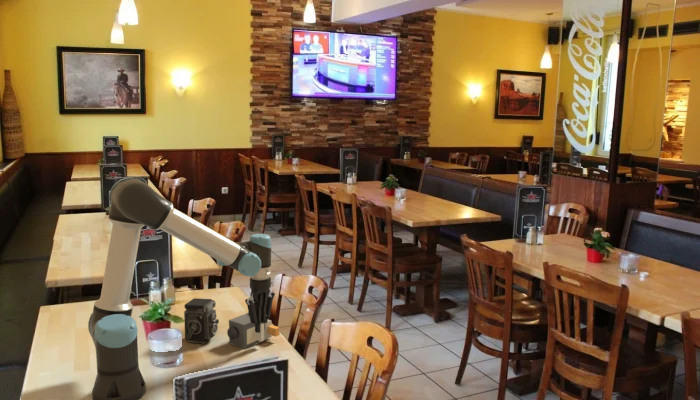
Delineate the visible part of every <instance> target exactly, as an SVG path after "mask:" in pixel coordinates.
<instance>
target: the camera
mask: <svg viewBox="0 0 700 400" xmlns="http://www.w3.org/2000/svg"><path fill="white" fill-rule="evenodd" d="M183 307H184V309H185V310H184V312H183V316H184V317H183V319H184V322H183V323H184V340H185V341H186V342H188V343H195V344H197V343H198V344H206V343H207V342H208V341H210V340H211V339H212V338H214V337H215V336H216V335H217V333H218V329H219V327H218V326H219V325H218V324H219V322H220V320H219V319H217V314H216V312H217V310H216V309H214V308H216V301H215V300H214V299H212V298H194V297H193V298H192V299H191V300H190V301H187V303H185V304H184V306H183Z"/></svg>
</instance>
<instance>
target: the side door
mask: <svg viewBox="0 0 700 400" xmlns="http://www.w3.org/2000/svg"><path fill="white" fill-rule="evenodd" d="M278 336H280V326H276V325H273V324H272V320H271V319H268V322H267V323H265V330H264V341H266V340H268V339H269V338H271V337H278ZM265 339H266V340H265ZM258 342H259V343H261V342H262V341H258Z"/></svg>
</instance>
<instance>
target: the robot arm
mask: <svg viewBox="0 0 700 400" xmlns="http://www.w3.org/2000/svg"><path fill="white" fill-rule="evenodd" d="M109 201H110V207H109V212H108V217H107V218H108V220H109V222H110V223H111V225H112V226H111V233H110V237H109V244H108V251H107V255H106V256H107V257H106V263H105V268H104V274H103V281H102V286H101V287H102V288H101V290H100V291H101V292H100V298H99V299H97V300H95V301H94V303H93V310H92V313H90V316H89V318H88V319H89V320H88V323H87V327H88V332H89V334H90V337H91V339H92V342H93V345H94V347H95V357H96V376H95V380H94V383H93V388H92V391H91V392H92V393H91V397H92V398H91V399H92V400H140V399H141V398H142V397H143V396H144V395H145V394H146V390H147V388H146V381H145V378H144V377H143V376H144V375H143V374H142V372H141V370H140V367H139V366H140V365H139V348H138V347H139V346H138V345H139V343H138V332H139V331H138V326H137V322H136V320H135V318H134V317H132V314H133V308H134V306H133V304H132V302H130V296H131V291H132V285H133V278H134V273H135V272H134V271H135V267H136V260H137V255H138V249H139V245H140V237H141V231H142V228H143V227H145V226H146V227H148V228H150V229H152V230H154V231H157V230H158V231H159V230H162V231H163V232H165V233H167V234H168V235H170V236H172V237H174V238H176V239H178V240H180V241H181V242H184V243H186V244H187V245H189V246H191V247H193V248H195V249H197V250H198V251H200V252H202V253H204V254H206V255H207V256H210V257H212V258H213V259H215V260H216V263H217V265H219V266H221V267H222V266H226V267H227V266H228V267H229V268H232V269H233V270H236V271H237V272H238V273H240V274H241V275H242V276H246V277H250V278H249V288H250V290H251V291H250V293H249V294H250V296H249V297H248V298H246V299H245V301H244V302H245V304H246V306H247V313H248V312H249V317H250V322H251V323H254V324H255V332H256V340H258V341H261V342H264V341H265V340H264V330H265V323H267V322H268V321H269V320H270V317H271V313H272V312H271V311H272V305H273V301H274V300H273V299H274V297H275V294H276V293H275V292H272V291H271V290H270V289H271V288H272V277H271V276H272V237H271V236H270V235H269V234H265V233H254V234H251V235H250V236H249V240H247V241H238V242H237V241H236V242H235V241H233V240H232V239H229V238H228V237H226V236H224V235H222V234H221V233H219V232H217V231H216V230H213V229H212V228H210V227H208V226H207V225H205V224H203V223H202V222H199V221H198V220H196V219H194V218H192V217H191V216H189V215H187V214H186V213H184V212H182V211H180V210H178V209H176V208H175V207H174V205H173V204H174V203H173V202H171V201H170V200H168V199H166V198H164V197H163V196H162V195H160V194H159V193H158V192H157V191H156V190H155V189H153V188H152V187H151V186H150V185H148V184H147V183H146V182H144V181H143V180H141V179H140V178H139V179H138V178H135V177H125V178H122V179H119V180H118V181H117V182H115V183H114V184H113V186H112V187H111V189H110V192H109ZM266 315H267V316H266ZM267 319H268V321H266V320H267Z"/></svg>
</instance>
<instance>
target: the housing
mask: <svg viewBox="0 0 700 400" xmlns="http://www.w3.org/2000/svg"><path fill="white" fill-rule="evenodd" d="M266 316H267V315H266ZM266 321H269V319H267V320H266ZM226 333H227V336H228V340H229V341H228V342H229V344H231V345H233V346H236V347H238V348H242V349H244V350H245V349H247V348H249V347H252V346H254V345H257V344H258V343H260V342H258V340H256V332H255V324H254V323H251V322H250V317H249V312H248V311H247V313H245V314H241V315H239V316H236V317H233V318H231V319H228V328H227V332H226ZM266 340H267V339H265V340H264V341H266Z"/></svg>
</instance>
